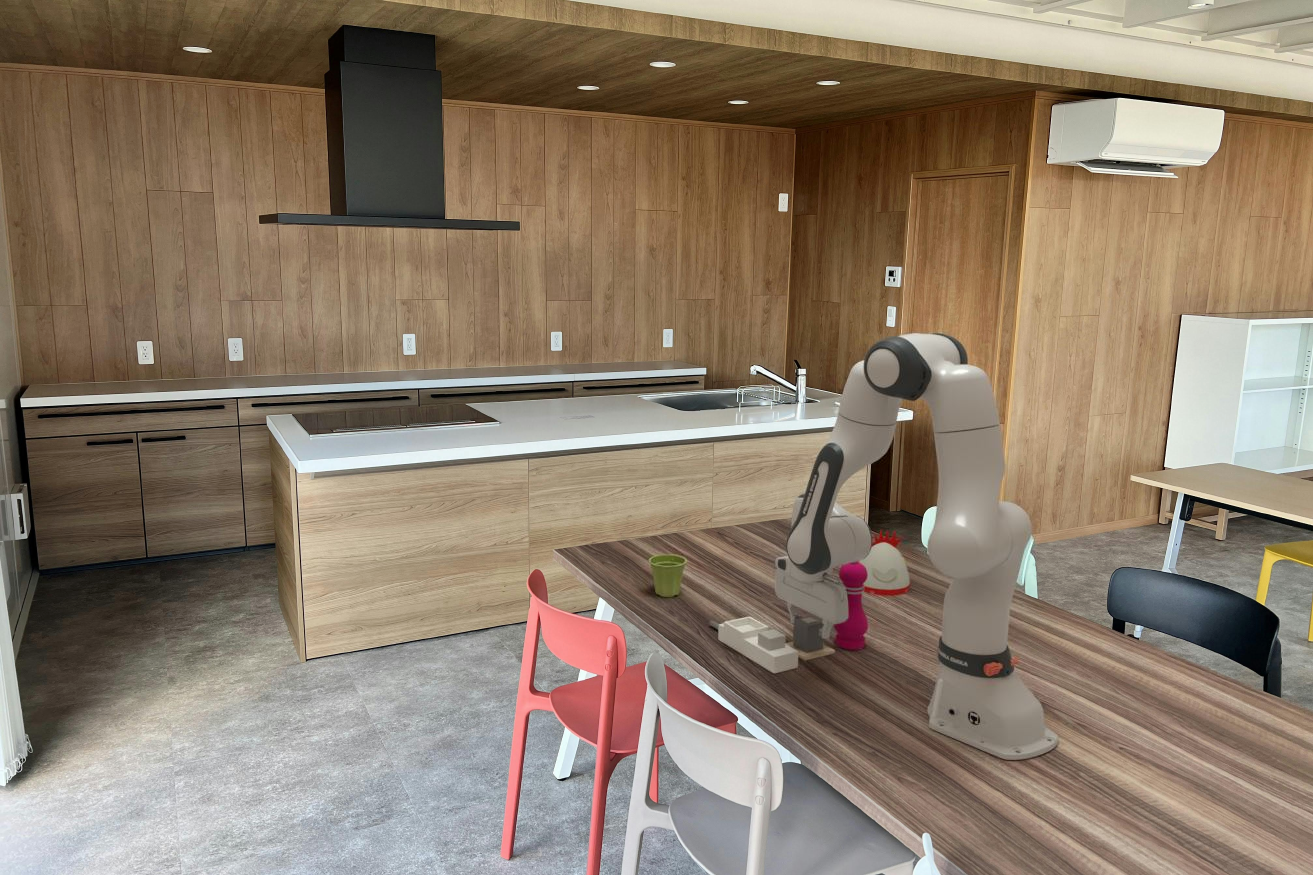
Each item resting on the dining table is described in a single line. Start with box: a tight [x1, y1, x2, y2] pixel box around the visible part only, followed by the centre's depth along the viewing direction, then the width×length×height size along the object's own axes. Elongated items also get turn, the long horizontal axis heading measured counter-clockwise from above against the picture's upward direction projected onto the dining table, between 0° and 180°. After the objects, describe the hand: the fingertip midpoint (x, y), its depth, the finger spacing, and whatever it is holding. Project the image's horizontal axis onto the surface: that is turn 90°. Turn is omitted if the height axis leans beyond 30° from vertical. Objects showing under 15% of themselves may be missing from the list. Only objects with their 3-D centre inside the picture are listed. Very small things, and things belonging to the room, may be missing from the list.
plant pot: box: [648, 554, 688, 598], centre depth 229 cm, size 9×9×9 cm
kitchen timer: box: [858, 529, 911, 597], centre depth 235 cm, size 14×14×15 cm
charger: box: [792, 615, 825, 653], centre depth 195 cm, size 4×4×6 cm
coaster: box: [785, 641, 836, 661], centre depth 195 cm, size 8×8×1 cm
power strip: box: [709, 616, 799, 674], centre depth 196 cm, size 28×7×6 cm, turn 30°
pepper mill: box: [833, 561, 869, 651], centre depth 197 cm, size 7×7×20 cm
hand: (809, 630), depth 195 cm, fingers open, 8 cm apart
